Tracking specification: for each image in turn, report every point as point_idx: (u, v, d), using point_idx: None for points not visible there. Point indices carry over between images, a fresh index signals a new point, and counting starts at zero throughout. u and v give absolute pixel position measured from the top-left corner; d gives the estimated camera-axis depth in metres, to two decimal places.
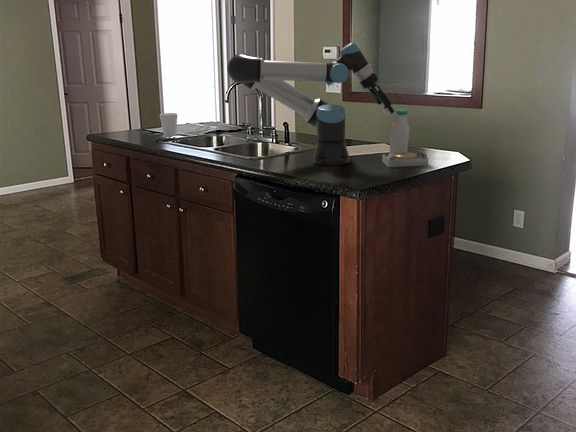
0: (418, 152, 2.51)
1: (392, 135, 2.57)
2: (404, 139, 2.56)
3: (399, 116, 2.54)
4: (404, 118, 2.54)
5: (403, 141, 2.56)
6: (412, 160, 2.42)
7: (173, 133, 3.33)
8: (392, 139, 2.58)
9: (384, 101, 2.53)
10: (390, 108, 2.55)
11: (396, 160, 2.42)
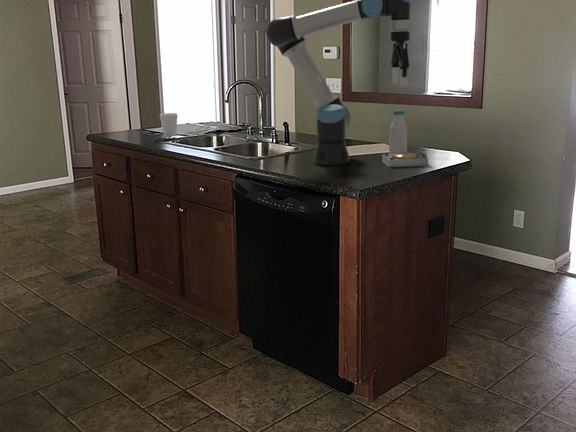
0: (418, 152, 2.51)
1: (390, 136, 2.58)
2: (402, 139, 2.57)
3: (396, 116, 2.56)
4: (401, 118, 2.56)
5: (401, 140, 2.57)
6: (412, 160, 2.42)
7: (173, 133, 3.33)
8: (391, 140, 2.59)
9: (404, 61, 2.42)
10: (405, 71, 2.44)
11: (396, 160, 2.42)
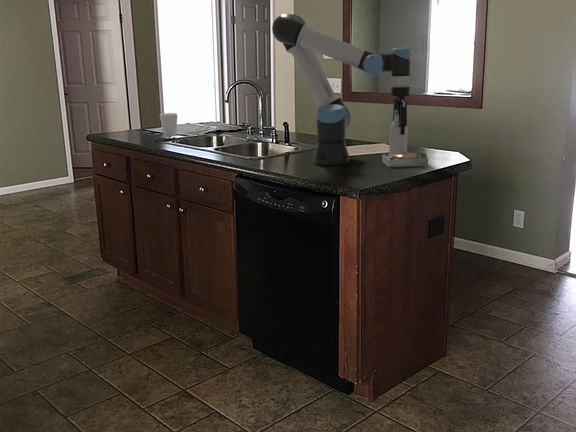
0: (418, 152, 2.51)
1: (391, 135, 2.58)
2: None
3: (397, 116, 2.55)
4: None
5: None
6: (412, 160, 2.42)
7: (173, 133, 3.33)
8: (391, 139, 2.58)
9: (402, 120, 2.50)
10: (402, 129, 2.53)
11: (396, 160, 2.42)
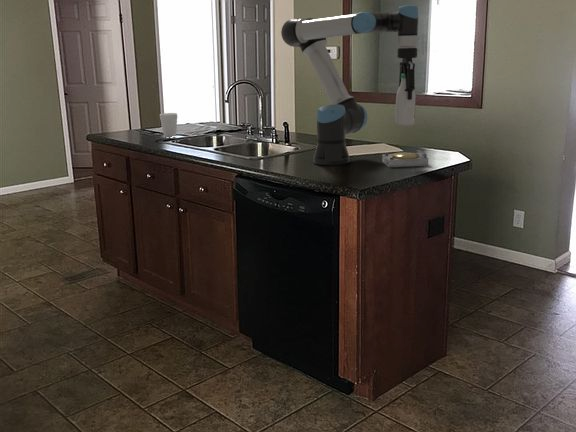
0: (418, 152, 2.51)
1: (397, 101, 2.40)
2: None
3: (404, 80, 2.37)
4: None
5: None
6: (412, 160, 2.42)
7: (173, 133, 3.33)
8: (397, 106, 2.40)
9: (409, 83, 2.32)
10: (410, 94, 2.35)
11: (396, 160, 2.42)
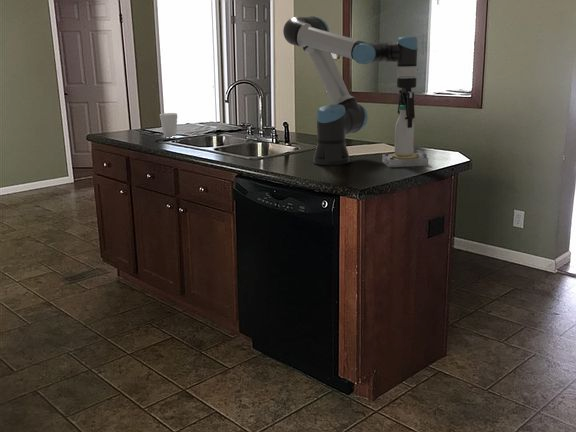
0: (418, 152, 2.51)
1: (396, 132, 2.44)
2: None
3: (402, 111, 2.41)
4: None
5: (408, 137, 2.42)
6: (412, 160, 2.42)
7: (173, 133, 3.33)
8: (396, 136, 2.44)
9: (409, 111, 2.34)
10: (410, 122, 2.37)
11: (396, 160, 2.42)
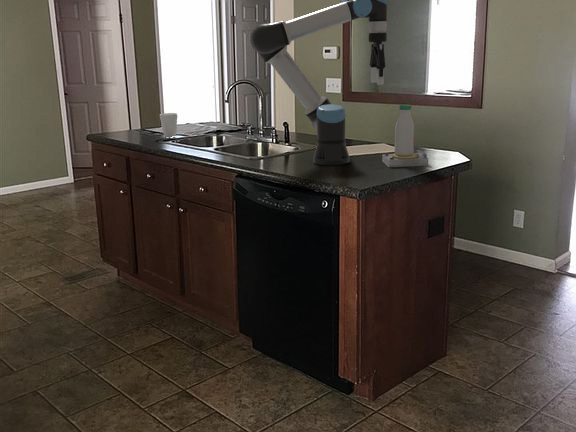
0: (418, 152, 2.51)
1: (396, 132, 2.44)
2: (409, 135, 2.42)
3: (402, 111, 2.41)
4: (408, 113, 2.41)
5: (408, 137, 2.42)
6: (412, 160, 2.42)
7: (173, 133, 3.33)
8: (397, 136, 2.44)
9: (380, 61, 2.50)
10: (381, 71, 2.52)
11: (396, 160, 2.42)
